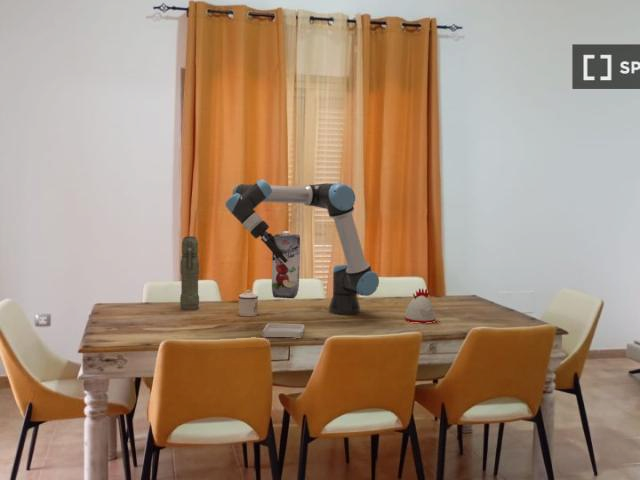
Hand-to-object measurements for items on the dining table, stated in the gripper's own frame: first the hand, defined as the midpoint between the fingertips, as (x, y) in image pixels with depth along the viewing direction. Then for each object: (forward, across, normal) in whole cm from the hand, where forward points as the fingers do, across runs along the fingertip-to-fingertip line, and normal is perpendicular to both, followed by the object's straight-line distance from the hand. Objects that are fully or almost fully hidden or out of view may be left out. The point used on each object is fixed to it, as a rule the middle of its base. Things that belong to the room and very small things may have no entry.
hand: (293, 266), depth 251 cm
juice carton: (+7, 0, -12) cm, 13 cm away
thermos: (-19, -42, -58) cm, 74 cm away
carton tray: (+18, +2, -22) cm, 28 cm away
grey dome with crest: (+59, -33, +20) cm, 70 cm away
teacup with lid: (+3, -34, -37) cm, 50 cm away
